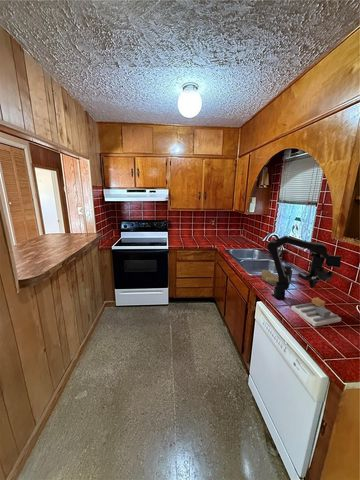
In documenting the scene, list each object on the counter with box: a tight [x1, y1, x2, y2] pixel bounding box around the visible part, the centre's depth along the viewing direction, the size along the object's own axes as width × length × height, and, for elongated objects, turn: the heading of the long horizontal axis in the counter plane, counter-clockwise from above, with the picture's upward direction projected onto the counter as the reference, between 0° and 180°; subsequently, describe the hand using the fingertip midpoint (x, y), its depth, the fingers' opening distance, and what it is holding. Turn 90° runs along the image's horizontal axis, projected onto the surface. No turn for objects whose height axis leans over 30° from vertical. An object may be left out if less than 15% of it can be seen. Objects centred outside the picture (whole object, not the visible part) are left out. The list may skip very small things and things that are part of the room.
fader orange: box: [311, 297, 326, 307], centre depth 117 cm, size 5×4×4 cm
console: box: [290, 302, 342, 328], centre depth 113 cm, size 16×18×3 cm
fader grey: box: [316, 306, 332, 317], centre depth 108 cm, size 5×4×4 cm
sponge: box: [260, 269, 279, 286], centre depth 152 cm, size 13×8×20 cm
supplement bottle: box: [283, 264, 293, 282], centre depth 154 cm, size 7×7×12 cm
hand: (312, 287), depth 120 cm, fingers closed
